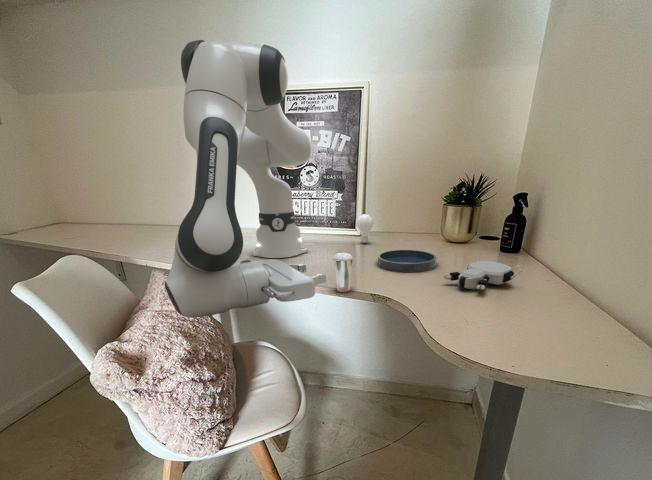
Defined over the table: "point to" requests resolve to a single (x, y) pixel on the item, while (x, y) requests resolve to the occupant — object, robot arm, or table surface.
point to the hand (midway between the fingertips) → (314, 272)
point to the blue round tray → (407, 260)
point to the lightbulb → (364, 226)
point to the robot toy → (482, 275)
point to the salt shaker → (343, 271)
